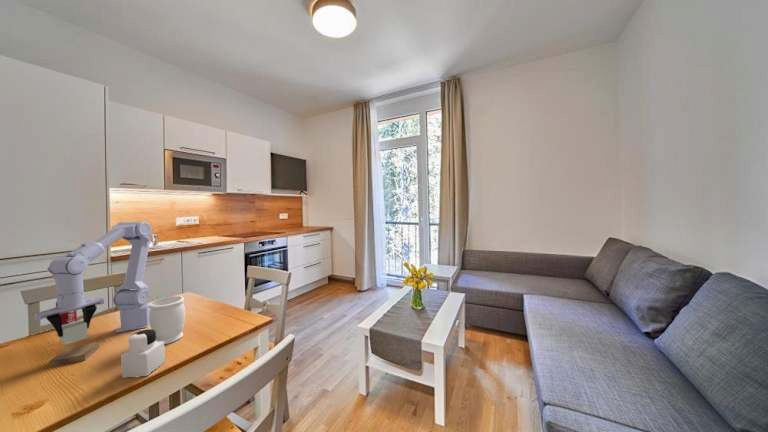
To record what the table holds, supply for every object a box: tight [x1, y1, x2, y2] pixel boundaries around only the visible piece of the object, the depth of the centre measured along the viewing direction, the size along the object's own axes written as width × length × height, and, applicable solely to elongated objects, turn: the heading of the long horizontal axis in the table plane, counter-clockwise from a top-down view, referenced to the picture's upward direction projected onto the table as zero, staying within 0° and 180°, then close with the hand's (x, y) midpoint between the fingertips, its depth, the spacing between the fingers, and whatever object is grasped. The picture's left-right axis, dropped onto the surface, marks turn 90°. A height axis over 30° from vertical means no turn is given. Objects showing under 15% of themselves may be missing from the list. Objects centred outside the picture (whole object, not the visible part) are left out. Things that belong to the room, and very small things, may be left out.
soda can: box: [55, 300, 78, 325], centre depth 107 cm, size 5×5×12 cm
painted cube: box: [59, 319, 89, 345], centre depth 85 cm, size 5×5×5 cm
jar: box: [148, 295, 186, 345], centre depth 96 cm, size 11×10×15 cm
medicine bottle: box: [120, 328, 166, 379], centre depth 78 cm, size 7×7×12 cm
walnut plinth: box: [48, 342, 100, 368], centre depth 85 cm, size 8×8×2 cm
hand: (73, 331), depth 85 cm, fingers closed on painted cube, 5 cm apart
